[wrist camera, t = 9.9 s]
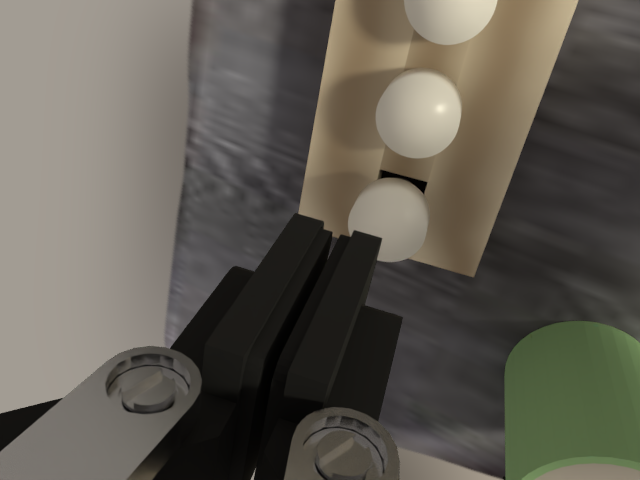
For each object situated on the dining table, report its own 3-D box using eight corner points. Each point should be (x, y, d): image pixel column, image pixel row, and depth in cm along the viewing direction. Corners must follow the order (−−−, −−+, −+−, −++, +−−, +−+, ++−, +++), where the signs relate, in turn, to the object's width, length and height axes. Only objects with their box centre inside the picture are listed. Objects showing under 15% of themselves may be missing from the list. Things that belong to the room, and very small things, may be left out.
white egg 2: (474, 66, 34) (471, 88, 29) (452, 137, 36) (446, 167, 32) (400, 48, 34) (386, 67, 30) (382, 120, 36) (367, 146, 32)
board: (651, -220, 27) (667, -235, 24) (475, 254, 40) (473, 277, 37) (394, -263, 28) (384, -280, 26) (308, 207, 42) (296, 225, 39)
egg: (443, 169, 35) (435, 204, 31) (424, 231, 38) (414, 271, 33) (373, 151, 36) (356, 182, 32) (358, 212, 38) (341, 249, 34)
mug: (475, 391, 45) (469, 527, 35) (557, 296, 40) (578, 426, 30) (620, 467, 45) (654, 627, 35) (722, 384, 40) (799, 544, 30)
